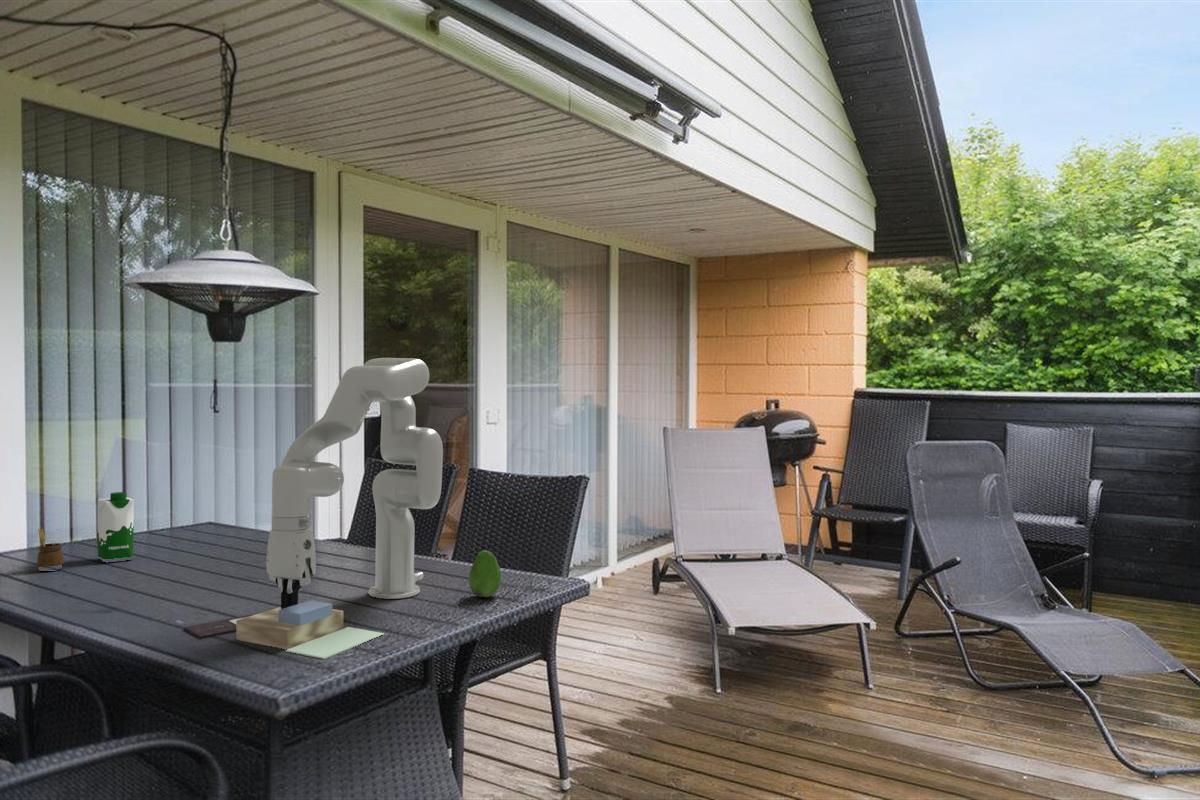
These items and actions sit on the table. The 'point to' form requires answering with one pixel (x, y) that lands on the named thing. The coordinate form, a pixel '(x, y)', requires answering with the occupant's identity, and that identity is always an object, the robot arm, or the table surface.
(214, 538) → the table surface
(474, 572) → the avocado
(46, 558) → the utensil holder
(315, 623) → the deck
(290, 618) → the blue-grey foam block
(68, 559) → the table surface
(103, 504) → the milk carton
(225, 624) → the chocolate bar
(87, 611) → the table surface
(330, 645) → the mat
